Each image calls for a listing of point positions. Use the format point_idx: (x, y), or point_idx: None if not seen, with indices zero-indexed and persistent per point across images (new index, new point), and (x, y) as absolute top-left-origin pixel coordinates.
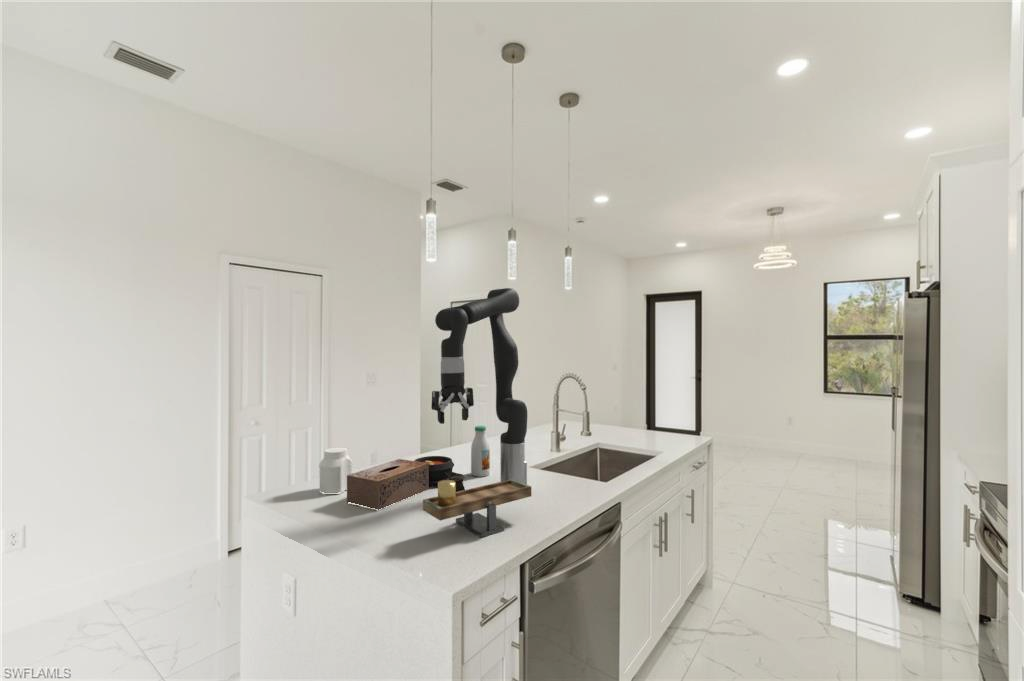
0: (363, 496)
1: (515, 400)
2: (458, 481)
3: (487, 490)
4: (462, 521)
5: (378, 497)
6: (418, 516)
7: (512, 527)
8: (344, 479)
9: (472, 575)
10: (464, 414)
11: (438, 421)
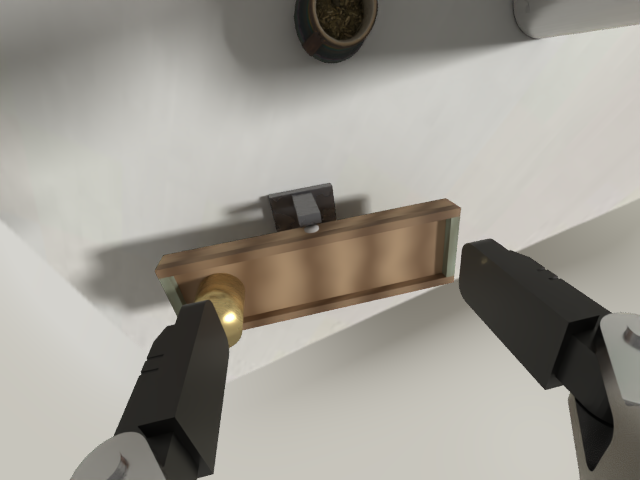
0: None
1: None
2: (344, 47)
3: (359, 241)
4: (277, 220)
5: None
6: (182, 103)
7: None
8: None
9: (229, 374)
10: (498, 316)
11: (168, 333)
